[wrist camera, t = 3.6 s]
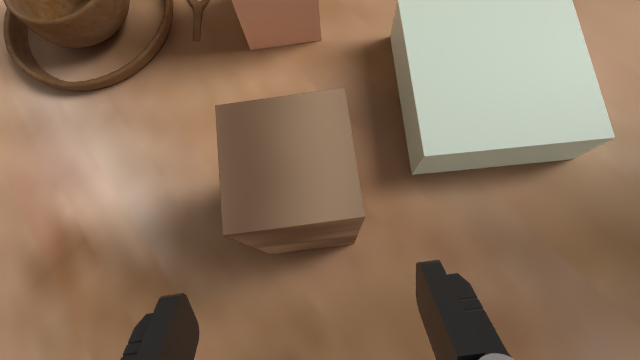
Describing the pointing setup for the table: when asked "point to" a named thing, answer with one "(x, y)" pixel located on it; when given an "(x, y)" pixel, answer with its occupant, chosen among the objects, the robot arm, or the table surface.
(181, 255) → the table surface
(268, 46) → the terracotta pillar
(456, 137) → the sage base block
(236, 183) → the walnut pillar
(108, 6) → the place setting
